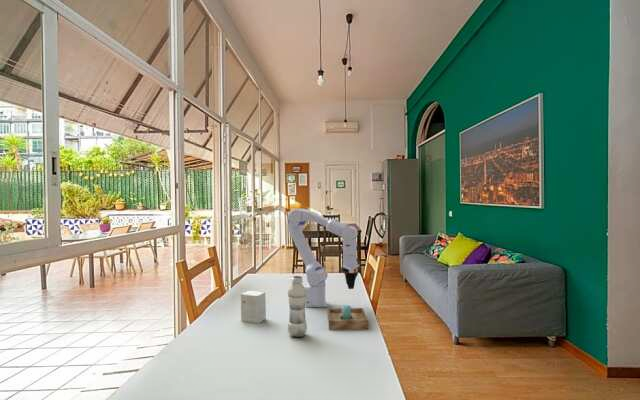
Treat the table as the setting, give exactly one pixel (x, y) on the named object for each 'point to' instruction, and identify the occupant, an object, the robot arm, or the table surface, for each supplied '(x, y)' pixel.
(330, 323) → the crate
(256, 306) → the small box
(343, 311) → the peg
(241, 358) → the table surface
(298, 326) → the plastic bottle
